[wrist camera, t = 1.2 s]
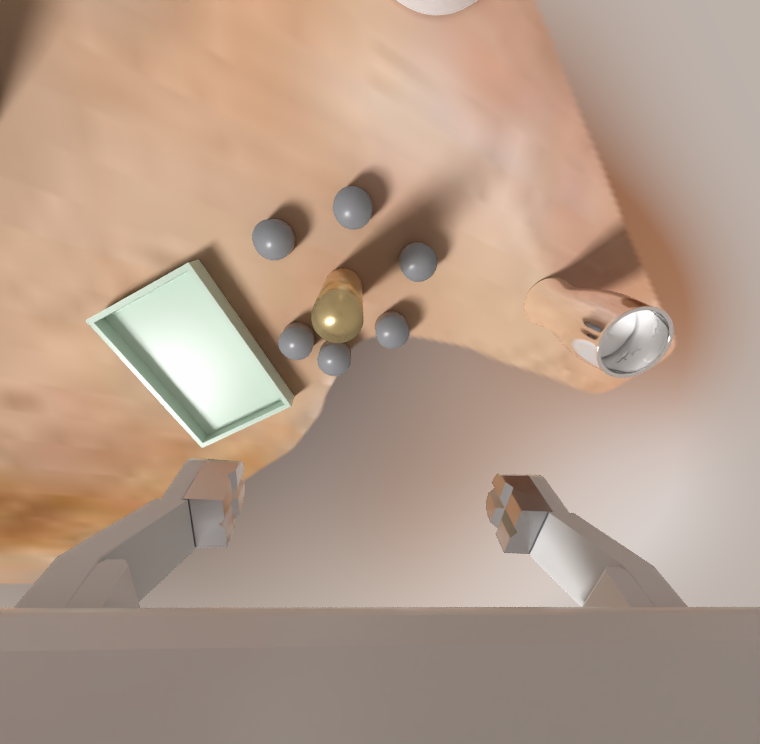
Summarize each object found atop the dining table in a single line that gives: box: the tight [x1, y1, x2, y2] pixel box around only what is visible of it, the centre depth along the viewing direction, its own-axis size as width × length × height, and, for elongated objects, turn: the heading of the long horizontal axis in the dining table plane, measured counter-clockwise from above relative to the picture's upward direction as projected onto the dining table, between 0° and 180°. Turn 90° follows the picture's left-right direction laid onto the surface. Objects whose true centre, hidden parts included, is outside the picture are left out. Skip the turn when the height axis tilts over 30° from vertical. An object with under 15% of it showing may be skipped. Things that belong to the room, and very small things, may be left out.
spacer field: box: [252, 186, 437, 376], centre depth 39 cm, size 19×21×2 cm
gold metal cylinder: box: [311, 268, 363, 343], centre depth 35 cm, size 4×4×13 cm
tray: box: [85, 259, 294, 448], centre depth 42 cm, size 20×14×3 cm
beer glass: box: [524, 277, 674, 378], centre depth 36 cm, size 7×7×15 cm
